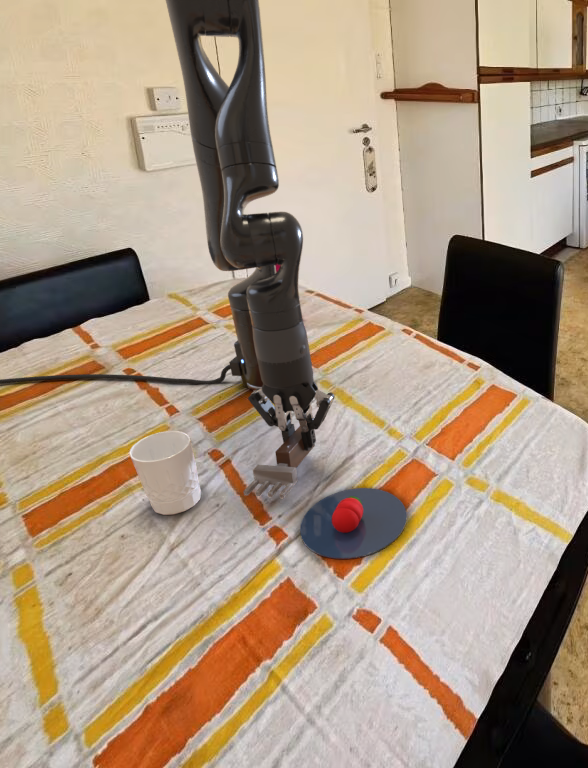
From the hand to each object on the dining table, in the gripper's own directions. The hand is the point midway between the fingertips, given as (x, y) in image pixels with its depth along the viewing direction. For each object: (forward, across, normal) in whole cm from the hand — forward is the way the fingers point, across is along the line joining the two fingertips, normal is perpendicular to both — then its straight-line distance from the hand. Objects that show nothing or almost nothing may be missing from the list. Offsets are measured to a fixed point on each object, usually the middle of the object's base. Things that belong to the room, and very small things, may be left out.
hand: (300, 447), depth 100 cm
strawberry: (+3, -13, +14) cm, 19 cm away
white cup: (+4, +15, +11) cm, 19 cm away
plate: (+4, -13, +12) cm, 18 cm away
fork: (+1, 0, +5) cm, 5 cm away
